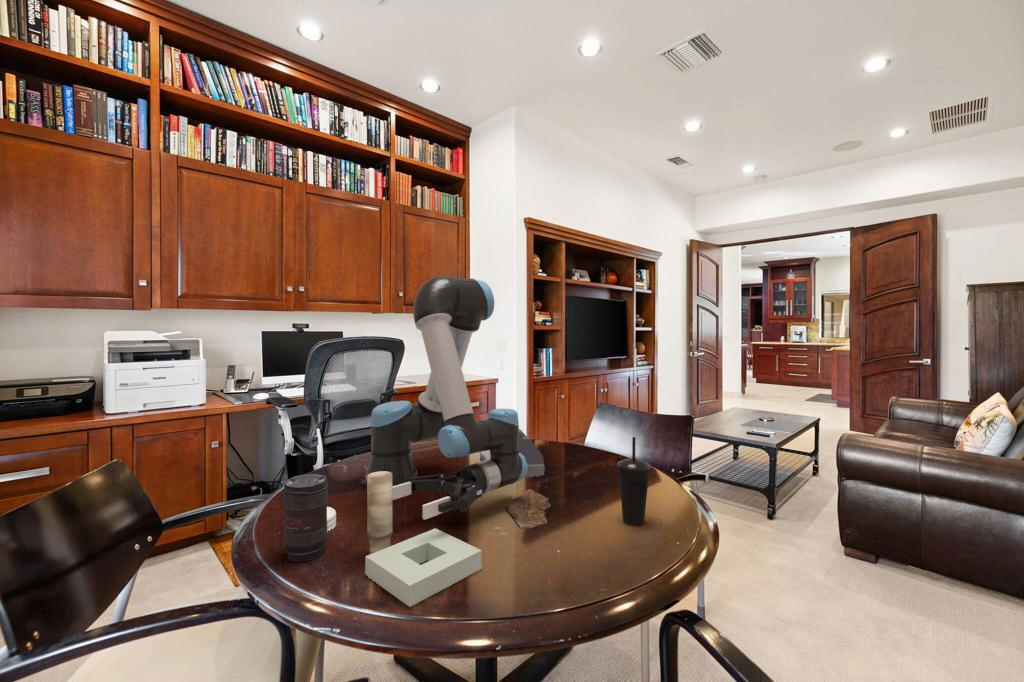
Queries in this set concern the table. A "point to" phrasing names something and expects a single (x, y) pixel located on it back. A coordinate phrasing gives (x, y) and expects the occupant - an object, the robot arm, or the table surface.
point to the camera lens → (305, 516)
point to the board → (419, 582)
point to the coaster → (331, 518)
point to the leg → (379, 510)
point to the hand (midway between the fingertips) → (403, 503)
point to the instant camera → (530, 454)
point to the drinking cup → (633, 488)
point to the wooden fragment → (529, 509)
